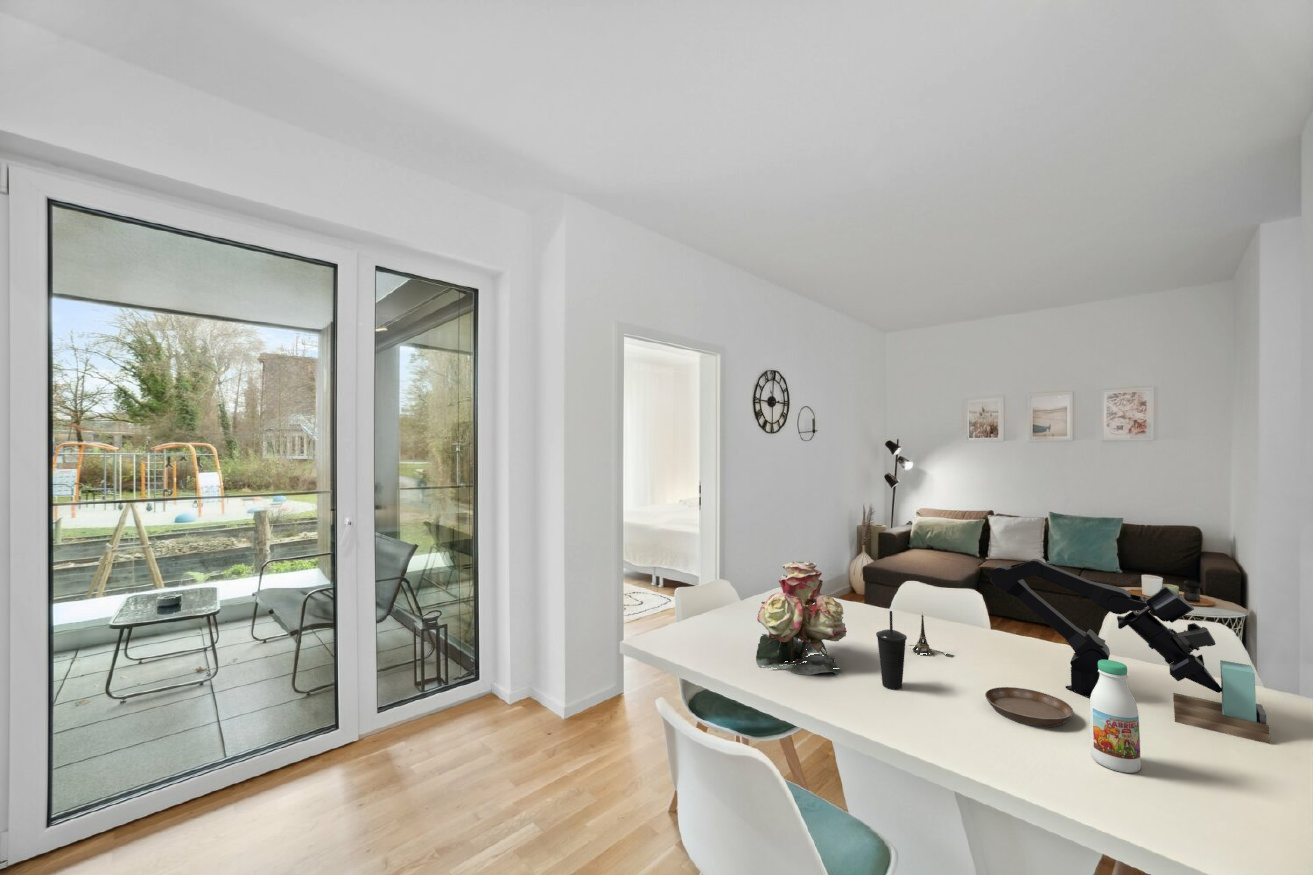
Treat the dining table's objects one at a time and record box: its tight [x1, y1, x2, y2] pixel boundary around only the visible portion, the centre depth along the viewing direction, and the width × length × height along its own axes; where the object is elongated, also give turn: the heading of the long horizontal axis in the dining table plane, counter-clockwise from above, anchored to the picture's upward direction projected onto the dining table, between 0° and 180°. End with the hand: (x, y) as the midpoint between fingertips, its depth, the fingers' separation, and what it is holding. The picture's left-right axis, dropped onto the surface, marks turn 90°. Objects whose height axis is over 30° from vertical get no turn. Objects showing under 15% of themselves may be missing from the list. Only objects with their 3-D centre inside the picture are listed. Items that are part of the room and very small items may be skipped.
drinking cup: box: [875, 610, 908, 691], centre depth 149 cm, size 8×8×20 cm
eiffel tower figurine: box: [908, 611, 956, 659], centre depth 174 cm, size 15×10×13 cm
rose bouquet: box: [755, 560, 848, 676], centre depth 168 cm, size 26×29×30 cm
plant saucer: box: [984, 686, 1074, 728], centre depth 133 cm, size 18×18×3 cm
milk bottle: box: [1089, 659, 1141, 774], centre depth 111 cm, size 8×8×20 cm
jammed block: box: [1219, 659, 1257, 722], centre depth 126 cm, size 5×6×12 cm
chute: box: [1172, 692, 1272, 745], centre depth 128 cm, size 15×13×5 cm
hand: (1220, 691), depth 128 cm, fingers closed, pressing on jammed block
